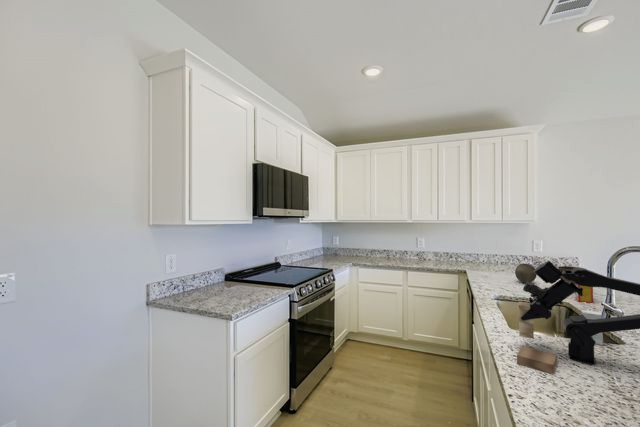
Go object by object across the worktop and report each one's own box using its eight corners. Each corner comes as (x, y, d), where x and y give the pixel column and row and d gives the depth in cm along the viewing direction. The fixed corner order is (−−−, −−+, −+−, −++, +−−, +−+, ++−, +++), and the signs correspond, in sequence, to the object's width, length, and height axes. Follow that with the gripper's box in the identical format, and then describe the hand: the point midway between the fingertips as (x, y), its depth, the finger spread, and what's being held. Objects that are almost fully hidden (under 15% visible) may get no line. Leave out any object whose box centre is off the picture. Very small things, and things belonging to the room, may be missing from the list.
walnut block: (557, 364, 102) (557, 354, 102) (553, 375, 95) (553, 364, 95) (522, 355, 109) (522, 346, 109) (517, 365, 102) (516, 355, 102)
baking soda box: (593, 303, 171) (592, 276, 172) (578, 302, 175) (577, 275, 175) (589, 300, 179) (589, 273, 179) (575, 298, 183) (575, 272, 183)
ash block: (533, 334, 115) (532, 303, 115) (533, 338, 110) (533, 306, 111) (519, 331, 117) (518, 301, 118) (519, 336, 113) (518, 304, 113)
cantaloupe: (511, 281, 234) (511, 262, 234) (530, 281, 232) (530, 262, 232) (521, 285, 220) (520, 265, 220) (541, 285, 218) (541, 265, 218)
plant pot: (590, 295, 189) (589, 270, 190) (560, 292, 197) (560, 268, 198) (584, 290, 202) (583, 267, 202) (557, 288, 210) (556, 265, 210)
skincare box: (603, 342, 118) (602, 312, 119) (603, 346, 115) (602, 315, 115) (582, 338, 123) (581, 309, 123) (582, 341, 119) (581, 311, 120)
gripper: (536, 272, 120) (505, 295, 126) (538, 280, 104) (503, 306, 110) (562, 294, 115) (528, 317, 121) (568, 306, 100) (529, 331, 106)
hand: (521, 317), depth 115 cm, fingers closed on ash block, 5 cm apart
